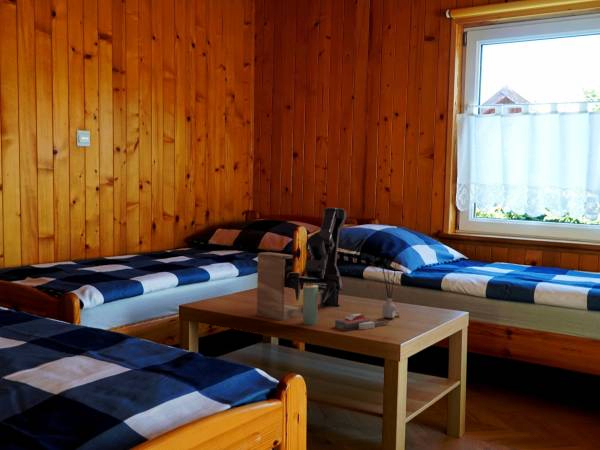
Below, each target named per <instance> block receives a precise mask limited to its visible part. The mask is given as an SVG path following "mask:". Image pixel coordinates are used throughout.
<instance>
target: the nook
mask: <svg viewBox="0 0 600 450" xmlns="http://www.w3.org/2000/svg"><path fill="white" fill-rule="evenodd" d="M293 258H294V255H292V254H285V253H279V252H271V251H266V252H258V253H257V281H256V282H257V283H256V284H257V286H256V289H257V291H256V294H257V295H256V316H260V317H264V318H268V319H273V320H278V321H284V320H290V319H294V318H298V317H303V307H300V306H295V305H290V304H286V303H285V279H286V277H285V273H286V272H285V271H286V270H285V268H286V260H288V259H293Z"/></svg>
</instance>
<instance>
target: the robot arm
mask: <svg viewBox="0 0 600 450" xmlns="http://www.w3.org/2000/svg"><path fill="white" fill-rule="evenodd" d="M347 216H348V215H347V210H345V209H344V208H343V207H325V208H324V209H323V219H322V222H321V226H320V230H319V231H318V232H314V234H312V235H310V236H309V238H308V239H306V240H307V242H306V243H307V246H308V251H309V254H310V256H311V257H310V258H311V259H306V260H305V264H304V265H305V266H304V270H305V275H306V276H300V272H294V271H293V272H292V271H290V272H288V273H287V275H286V279H287V283H288V286H289V287H290V288H291V289H293V290H294V293H295V299H296V301H299V299H300V295H301V294H300V292H301V289H302V288H301V285H302V283H303V284H311V285H318V291H320V293H319V304H320V305H321V306H323V307H339V306H340V305H341V304H339V292H341V291H342V290H343V280H342V278H341V275H340V271H339V269H338V266H337V261H338V252H339V243H340V241H339V240H340V231H341V229H342V228H343V227H344V226H345V222H346V220H347Z"/></svg>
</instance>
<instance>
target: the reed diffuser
mask: <svg viewBox="0 0 600 450" xmlns="http://www.w3.org/2000/svg"><path fill="white" fill-rule="evenodd" d="M381 268H382V273H383V277H384V278H383V279H384V283H385V289H386V295H387V296H386V302H385V303H384V304H383V305H382V317H383V318H387V319H388V318H391V319H392V318H396V317H398V316H399V317H401V313H400V311H399V310H396V309H397V308H396V305H395V304H394V303H393V297H392V296H393V288H394V282H395V278H396V277H395V276H396V269H397V264H395V266H394V272H393V280H392V287H390V286H391V285H390V283H388V284H387V281H388V282H390V275H389V272H387V279H388V280H386V275H385V269H384V265H383V264H382V263H381ZM386 269H387V271H389V265H388V263H386ZM395 316H396V317H395Z"/></svg>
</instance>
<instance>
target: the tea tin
mask: <svg viewBox="0 0 600 450" xmlns="http://www.w3.org/2000/svg"><path fill="white" fill-rule="evenodd" d="M302 286H303V291H302V293H303V297H302V299H303V300H302V324H303V325H307V326H308V325H309V326H314V325H317V324H318V309H319V307H318V305H319V304H318V302H319V290H318V284H303V285H302Z"/></svg>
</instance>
